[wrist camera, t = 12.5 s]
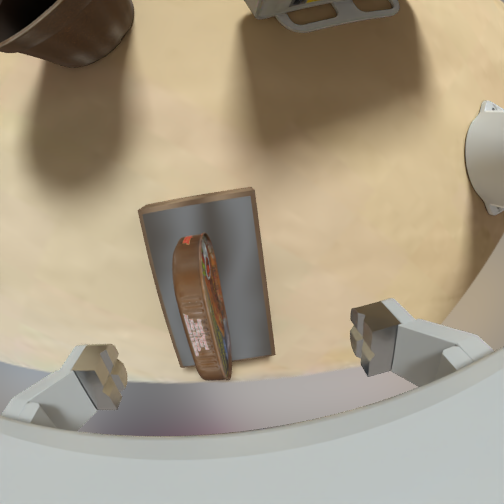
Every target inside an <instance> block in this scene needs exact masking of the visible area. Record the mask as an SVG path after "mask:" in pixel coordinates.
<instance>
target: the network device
mask: <svg viewBox="0 0 504 504" xmlns="http://www.w3.org/2000/svg"><path fill="white" fill-rule="evenodd" d="M244 1H245V2H246V4H247V6H248V7H249V9H250V10H251V12H252V13H253V15H254V17H255V18H256V19H266V18H269V17H273V16H275V17H276V18H277V20H278V21H279V22H280V24H282V25H283V26H284V27H285V28H287V29H289V30H291V31H294V32H299V33H307V32H312V31H316V30H320V29H324V28H328V27H332V26H337V25H341V24H346V23H351V22H357V21H363V20H369V19H375V18H382V17H390V16H393V15H395V14H396V13H397V12H398V11H399V8H400V7H399V2H398V0H389V2H390V3H391V5H392V9H387V10H379V11H371V12H363V11H361V10H359V9H358V8H357V7H356V6H355V4H354V3H353V1H352V0H244ZM327 3H331V4H332V6H333V7H334V9H335V11H336V13H337V16H336V17H335V18H331V19H326V20H322V21H317V22H313V23H309V24H305V25H297V24H295V23H293V22H292V21H291V20H290V18H289V17H288V15H287V14H286V13H287V12H291V11H295V10H299V9H303V8H308V7H312V6H317V5H322V4H327Z"/></svg>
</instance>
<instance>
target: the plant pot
mask: <svg viewBox="0 0 504 504" xmlns="http://www.w3.org/2000/svg"><path fill="white" fill-rule="evenodd" d="M133 16H134V7H133V3H132V0H0V52H5V53H16V52H19V53H23V54H26V55H30V56H33V57H37V58H40V59H43V60H47V61H50V62H53V63H56V64H59V65H61V66H65V67H81V66H85V65H88V64H91V63H93V62H95V61H97V60H99V59H100V58H102V57H104V56H105V55H107V54H108V53H109V52H110V51H112V50H113V49H114V48H115V47H116V46H117V45H118V44H119V43H120V40H121V38H122V37H123V36H124V34H125V33H126V32H127V31H128V30H129V28H130V26H131V24H132V21H133Z"/></svg>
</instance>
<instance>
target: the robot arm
mask: <svg viewBox="0 0 504 504" xmlns="http://www.w3.org/2000/svg"><path fill="white" fill-rule="evenodd" d="M466 165H467V170H468V174H469V178H470V181H471V183H472V186H473V188H474V189H475V191H476V192H477V194H478V195H479V196H480V197H481V198H482V199H483V201H484V203H485V206H486V208H487V211H488V213H489V214H490V215H497V214H499V213H501V212H503V211H504V109H502V108H501V107H499V106H498V105H496V104H494V103H493V102H491V101H486V100H485V101H483V102H482V105H481V109H480V113H479V114H478V116H477V117H476V118H475V119H474V120H473V121H472V123H471V125H470V127H469V130H468V134H467V139H466ZM351 321H352V323H353V324H354V326H353V327H352V329H351V330H350V340H351V346H352V349H353V352H354V353H355V355H356V356H357V357H359V358H361V366H362V367H363V369H364V371H365V373H366V374H367V376H368V377H370V376H373V375H377V374H381V373H384V372H388V371H392V372H393V373H395V374H397V375H398V376H400V377H402V378H404V379H406V380H407V381H409V382H411V383H413V384H415V385H417V386H418V388H415V389H413V390H410V391H407V392H405V393H402V394H399V395H396V396H394V397H391V398H388V399H385V400H382V401H379V402H376V403H373V404H369V405H366V406H363V407H359V408H356V409H353V410H349V411H345V412H341V413H338V414H334V415H330V416H325V417H321V418H317V419H312V420H308V421H303V422H298V423H293V424H287V425H282V426H276V427H270V428H263V429H257V430H249V431H241V432H232V433H223V434H210V435H194V436H163V437H161V436H160V437H159V436H157V437H156V436H123V435H108V434H96V433H87V432H78V430H79V429H80V428H81V427H82V426H83V425H84V424H85V423H86V422H87V421H88V420H89V419H90V418H91V417H92V416H93V415H94V414H95V413H96V412H97V410H118V407H119V404H120V401H121V399H122V396H121V394H120V392H121V391H123V390H124V389H125V388H126V385H127V372H126V368H125V366H124V364H123V363H122V362H121V361H119V360H118V359H117V358H118V354H119V353H118V351H117V349H116V347H115V346H114V345H113V344H91V345H77V346H75V348H74V349H73V351H72V352H71V353H70V355H69V356H68V358H67V359H66V361H65V362H64V364H63V365H62V367H61V368H60V370H59V371H55V372H53V373H51V374H50V375H48V376H47V377H45V378H43V379H42V380H40V381H39V382H37V383H35V384H34V385H32V386H31V387H29V388H27V389H26V390H24V391H23V392H21V393H20V394H18V395H16V396H15V397H13V398H12V399H11V401H10V402H9V404H8V405H7V407H6V408H5V410H4V411H3V413H2V415H1V416H0V504H504V346H503V347H501V348H500V349H498V350H496V351H494V350H493V349H492V348H491V347H490V346H489V345H487V343H485V342H484V341H483V340H482V339H481V338H480V337H479V336H478V335H476V334H472V333H469V332H465V331H461V330H458V329H454V328H451V327H447V326H444V325H440V324H436V323H433V322H429V321H426V320H422V319H416V320H415V319H414V318H413V317H412V316H411V315H410V314H409V313H408V312H407V311H406V310H405V309H404V308H403V307H402V306H401V305H400V304H399V303H398V302H397V301H396V300H395V299H393V298H389V299H386V300H382V301H379V302H376V303H372V304H368V305H364V306H360V307H357V308H353V309H352V310H351Z"/></svg>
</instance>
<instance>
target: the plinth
mask: <svg viewBox="0 0 504 504" xmlns="http://www.w3.org/2000/svg"><path fill="white" fill-rule="evenodd" d="M138 213H139V218H140V223H141V227H142V232H143V237H144V241H145V245H146V250H147V254H148V258H149V262H150V266H151V270H152V274H153V278H154V281H155V285H156V289H157V293H158V296H159V300H160V303H161V307H162V310H163V314H164V317H165V320H166V324H167V327H168V330H169V333H170V337H171V340H172V343H173V346H174V349H175V352H176V355H177V358H178V361H179V364H180V367H181V368H184V367H194V366H195V363H194V360H193V357H192V354H191V351H190V347H189V344H188V341H187V337H186V334H185V331H184V327H183V324H182V320H181V316H180V313H179V309H178V305H177V301H176V297H175V291H174V285H173V275H172V260H173V253H174V249H175V247H176V245H177V243H178V241H179V240H180V238H182V237H186V236H191V235H198V234H202V233H204V232H205V233H207V234H208V236H209V238H210V240H211V243H212V246H213V250H214V253H215V258H216V263H217V268H218V274H219V279H220V284H221V290H222V295H223V300H224V305H225V310H226V315H227V320H228V326H229V332H230V339H231V355H232V362H234V361H241V360H248V359H254V358H260V357H266V356H272V355H275V347H274V339H273V331H272V322H271V314H270V306H269V298H268V290H267V282H266V274H265V267H264V259H263V251H262V243H261V236H260V228H259V220H258V213H257V205H256V198H255V190H254V189H253V188H252V187H247V188H240V189H234V190H227V191H221V192H214V193H208V194H202V195H196V196H191V197H185V198H179V199H174V200H169V201H163V202H158V203H153V204H148V205H145V206H144V207H142V208H141V209H139V210H138Z"/></svg>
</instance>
